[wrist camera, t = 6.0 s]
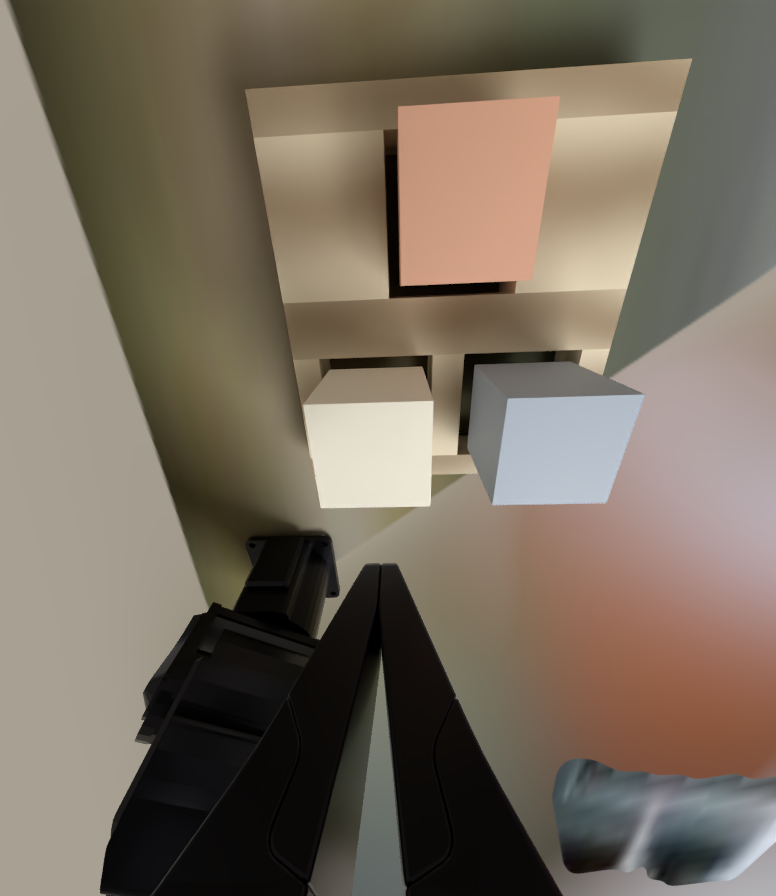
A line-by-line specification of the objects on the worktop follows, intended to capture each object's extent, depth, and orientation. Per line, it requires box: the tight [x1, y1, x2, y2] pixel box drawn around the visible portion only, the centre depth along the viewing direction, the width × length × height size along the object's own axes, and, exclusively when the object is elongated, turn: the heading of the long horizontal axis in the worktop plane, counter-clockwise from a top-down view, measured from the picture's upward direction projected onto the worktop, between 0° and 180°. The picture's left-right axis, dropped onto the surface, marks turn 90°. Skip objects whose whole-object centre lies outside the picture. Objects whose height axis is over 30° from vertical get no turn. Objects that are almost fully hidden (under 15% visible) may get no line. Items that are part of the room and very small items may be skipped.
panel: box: [245, 59, 692, 477], centre depth 15 cm, size 16×15×2 cm
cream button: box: [303, 366, 434, 508], centre depth 14 cm, size 4×4×5 cm
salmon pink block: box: [397, 96, 560, 286], centre depth 12 cm, size 4×4×5 cm
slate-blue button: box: [467, 361, 645, 505], centre depth 14 cm, size 4×4×5 cm
